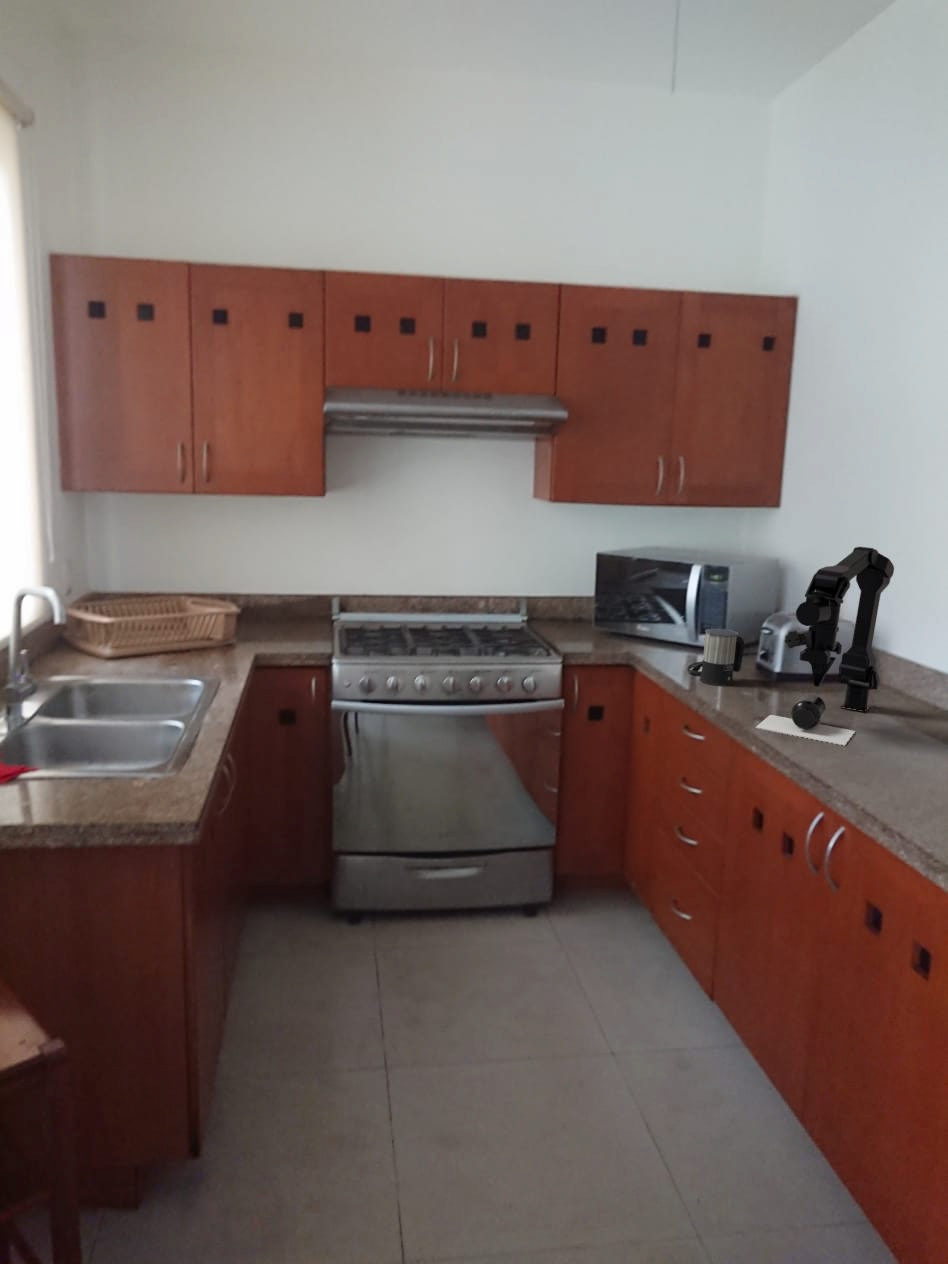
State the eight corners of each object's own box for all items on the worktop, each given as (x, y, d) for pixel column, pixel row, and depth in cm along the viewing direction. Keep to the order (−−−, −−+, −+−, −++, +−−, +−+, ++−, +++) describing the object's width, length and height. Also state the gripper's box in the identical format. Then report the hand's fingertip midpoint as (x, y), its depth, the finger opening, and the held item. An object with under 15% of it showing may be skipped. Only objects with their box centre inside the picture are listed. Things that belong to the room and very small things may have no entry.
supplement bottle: (791, 710, 227) (781, 721, 217) (806, 688, 225) (797, 698, 214) (816, 726, 225) (808, 738, 214) (832, 703, 222) (823, 714, 212)
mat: (770, 715, 229) (770, 714, 229) (855, 732, 219) (855, 731, 219) (755, 728, 217) (755, 727, 217) (844, 746, 207) (844, 744, 207)
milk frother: (724, 688, 255) (730, 636, 252) (672, 677, 264) (677, 626, 262) (744, 680, 266) (750, 630, 263) (693, 670, 276) (698, 621, 273)
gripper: (799, 613, 231) (791, 673, 234) (781, 622, 215) (773, 686, 218) (845, 619, 225) (837, 681, 228) (831, 629, 209) (822, 695, 212)
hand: (816, 685), depth 222 cm, fingers closed
